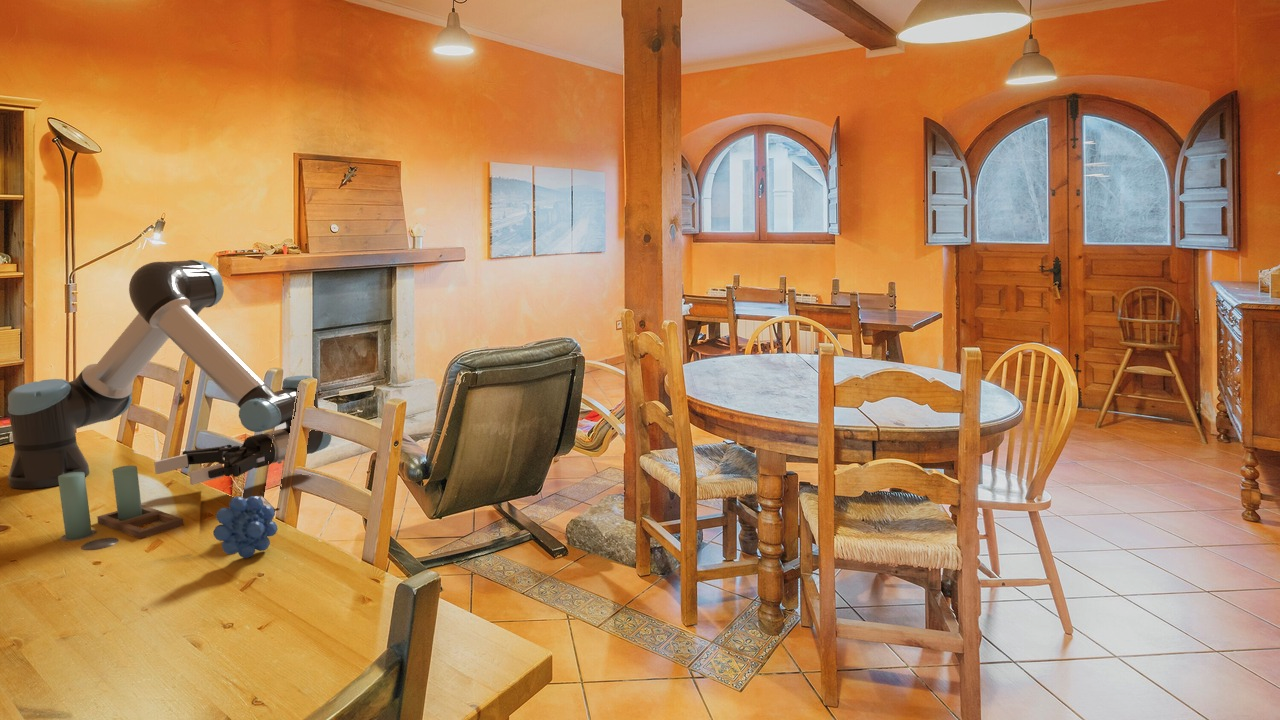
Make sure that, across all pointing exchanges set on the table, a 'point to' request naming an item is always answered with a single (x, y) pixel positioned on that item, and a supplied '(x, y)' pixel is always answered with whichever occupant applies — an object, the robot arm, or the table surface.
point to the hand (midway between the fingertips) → (172, 473)
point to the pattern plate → (94, 542)
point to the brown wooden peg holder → (141, 522)
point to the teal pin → (127, 492)
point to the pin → (75, 505)
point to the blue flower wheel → (245, 526)
